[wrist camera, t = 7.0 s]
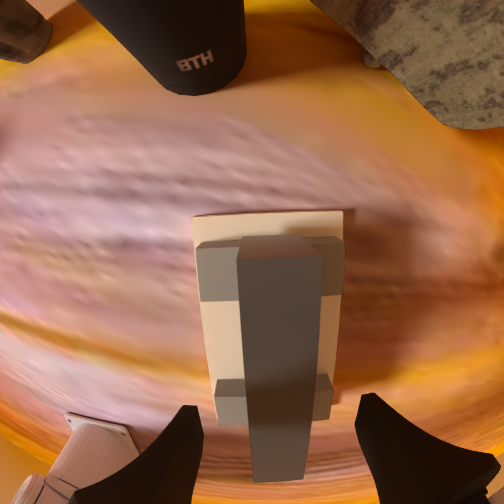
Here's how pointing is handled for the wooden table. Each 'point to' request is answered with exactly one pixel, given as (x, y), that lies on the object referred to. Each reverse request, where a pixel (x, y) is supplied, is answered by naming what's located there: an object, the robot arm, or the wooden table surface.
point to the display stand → (227, 299)
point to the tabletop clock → (434, 52)
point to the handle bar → (279, 349)
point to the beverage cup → (22, 31)
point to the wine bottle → (179, 39)
